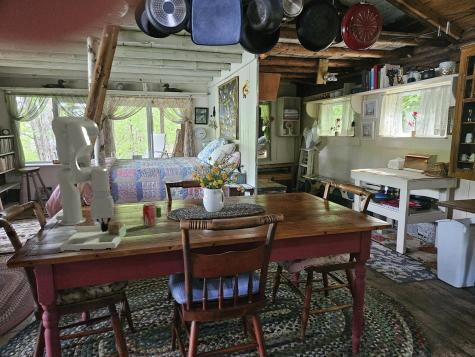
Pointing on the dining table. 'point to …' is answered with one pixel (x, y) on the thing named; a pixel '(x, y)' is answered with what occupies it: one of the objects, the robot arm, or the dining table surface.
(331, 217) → the dining table surface
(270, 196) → the dining table surface
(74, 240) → the trap board
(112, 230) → the walnut block
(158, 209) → the puzzle toy
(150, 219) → the soda can
